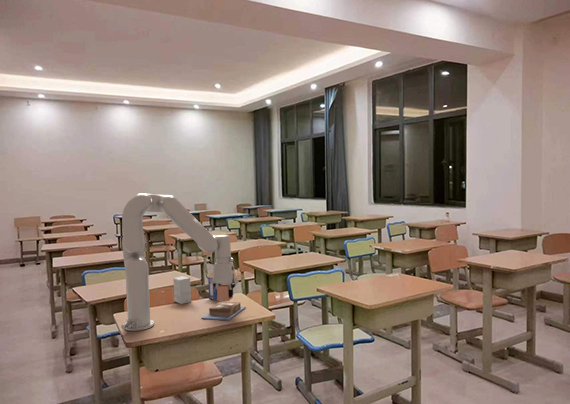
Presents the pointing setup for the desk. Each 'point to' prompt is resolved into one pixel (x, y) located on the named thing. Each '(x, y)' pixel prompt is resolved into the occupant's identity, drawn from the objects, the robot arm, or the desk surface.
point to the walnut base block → (224, 308)
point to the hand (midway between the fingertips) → (225, 296)
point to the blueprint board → (222, 316)
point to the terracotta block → (223, 292)
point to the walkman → (212, 290)
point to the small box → (182, 290)
